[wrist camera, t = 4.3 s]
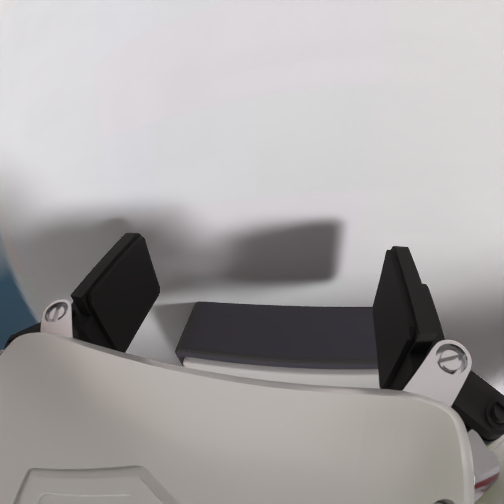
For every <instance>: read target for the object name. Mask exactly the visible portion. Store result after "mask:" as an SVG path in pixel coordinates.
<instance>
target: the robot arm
mask: <svg viewBox="0 0 504 504" xmlns="http://www.w3.org/2000/svg"><path fill="white" fill-rule="evenodd" d="M159 293H160V287H159V284H158V281H157V277H156V274H155V271H154V268H153V265H152V262H151V259H150V255H149V252H148V249H147V245H146V242H145V239H144V238H143V237H142V236H141V235H140V234H139V233H126V234H125V235H124V236H123V237H122V238H121V239H120V240H119V241H118V242H117V243H116V244H115V245H114V246H113V247H112V248H111V249H110V251H109V252H108V253H107V254H106V255H105V256H104V257H103V258H102V259H101V260H100V262H99V263H98V264H97V265H96V266H95V267H94V268H93V270H92V271H91V272H90V273H89V274H88V275H87V276H86V278H85V279H84V280H83V281H82V282H81V283H80V285H79V286H78V287H77V288H76V289H75V291H74V292H73V293H72V294H71V297H72V299H73V301H74V302H73V303H72V304H71V303H70V302H69V300H66V299H60V300H56V301H54V302H52V303H51V304H50V305H48V306H47V307H46V309H45V310H44V312H43V313H42V317H41V322H40V323H38V324H36V325H33V326H31V327H29V328H27V329H25V330H22V331H20V332H18V333H16V334H13V335H12V336H11V337H10V338H9V339H8V341H7V343H6V345H5V349H4V351H3V350H1V351H0V504H504V395H502V394H501V393H500V392H498V391H497V390H496V389H495V388H493V387H492V386H491V385H489V384H488V383H487V382H485V381H484V380H483V379H482V378H480V377H479V376H478V375H476V374H475V373H474V372H472V371H471V370H470V369H471V366H472V359H471V356H470V353H469V352H468V350H467V349H466V348H465V347H464V346H463V345H462V344H461V343H459V342H456V341H454V340H445V338H444V335H443V331H442V328H441V325H440V321H439V318H438V315H437V312H436V309H435V306H434V303H433V300H432V297H431V294H430V291H429V288H428V286H427V285H426V284H422V283H421V280H420V277H419V274H418V271H417V269H416V266H415V263H414V261H413V258H412V256H411V253H410V251H409V248H408V247H399V246H393V247H392V249H391V250H387V251H386V255H385V260H384V264H383V268H382V273H381V277H380V281H379V285H378V289H377V292H376V296H375V300H374V304H373V321H374V330H375V339H376V349H377V360H378V373H379V387H380V389H376V388H358V387H337V386H323V385H310V384H297V383H287V382H277V381H268V380H260V379H253V378H246V377H239V376H232V375H226V374H220V373H214V372H208V371H203V370H197V369H192V368H187V367H182V366H177V365H173V364H168V363H164V362H159V361H155V360H151V359H147V358H142V357H138V356H134V355H131V354H127V353H125V352H126V350H127V348H128V347H129V345H130V343H131V341H132V340H133V338H134V336H135V334H136V333H137V331H138V329H139V327H140V326H141V324H142V322H143V321H144V319H145V317H146V316H147V314H148V312H149V311H150V309H151V307H152V306H153V304H154V302H155V301H156V299H157V297H158V296H159ZM474 476H475V485H474Z"/></svg>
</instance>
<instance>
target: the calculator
mask: <svg viewBox="0 0 504 504" xmlns="http://www.w3.org/2000/svg"><path fill="white" fill-rule="evenodd" d="M175 352H176V355H177V357H178V358H179V360H180V362H181V363H182V365H183V367H187V368H192V369H197V370H203V371H208V372H214V373H220V374H226V375H232V376H239V377H246V378H253V379H260V380H268V381H277V382H287V383H297V384H310V385H323V386H337V387H358V388H376V389H380V387H379V373H378V360H377V349H376V339H375V330H374V321H373V307H308V306H275V305H251V304H232V303H216V302H197V303H196V304H195V306H194V308H193V310H192V313H191V315H190V317H189V319H188V322H187V324H186V326H185V329H184V331H183V333H182V336H181V338H180V340H179V343H178V345H177V347H176V350H175Z"/></svg>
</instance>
